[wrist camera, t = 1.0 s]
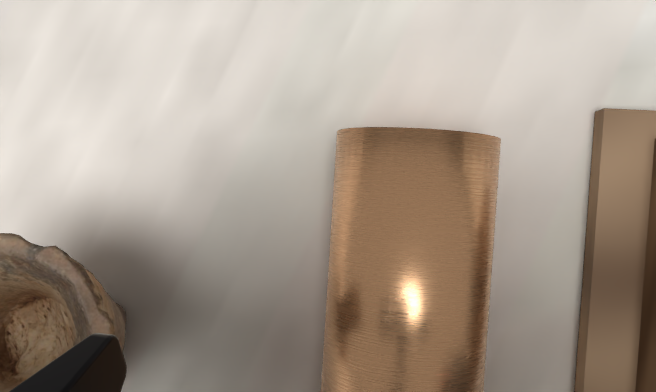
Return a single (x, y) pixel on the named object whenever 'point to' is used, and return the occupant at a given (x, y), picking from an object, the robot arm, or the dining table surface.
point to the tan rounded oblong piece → (410, 260)
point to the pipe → (47, 308)
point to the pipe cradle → (620, 257)
